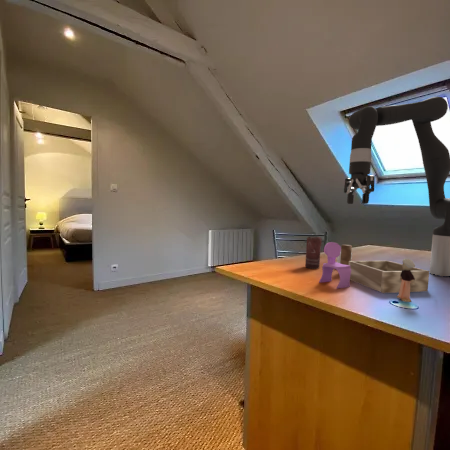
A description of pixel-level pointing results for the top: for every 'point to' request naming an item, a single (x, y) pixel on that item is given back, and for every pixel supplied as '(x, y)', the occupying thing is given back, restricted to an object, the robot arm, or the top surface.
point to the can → (313, 252)
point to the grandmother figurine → (406, 280)
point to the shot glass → (340, 258)
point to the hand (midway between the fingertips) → (357, 203)
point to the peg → (345, 254)
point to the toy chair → (335, 266)
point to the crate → (386, 276)
